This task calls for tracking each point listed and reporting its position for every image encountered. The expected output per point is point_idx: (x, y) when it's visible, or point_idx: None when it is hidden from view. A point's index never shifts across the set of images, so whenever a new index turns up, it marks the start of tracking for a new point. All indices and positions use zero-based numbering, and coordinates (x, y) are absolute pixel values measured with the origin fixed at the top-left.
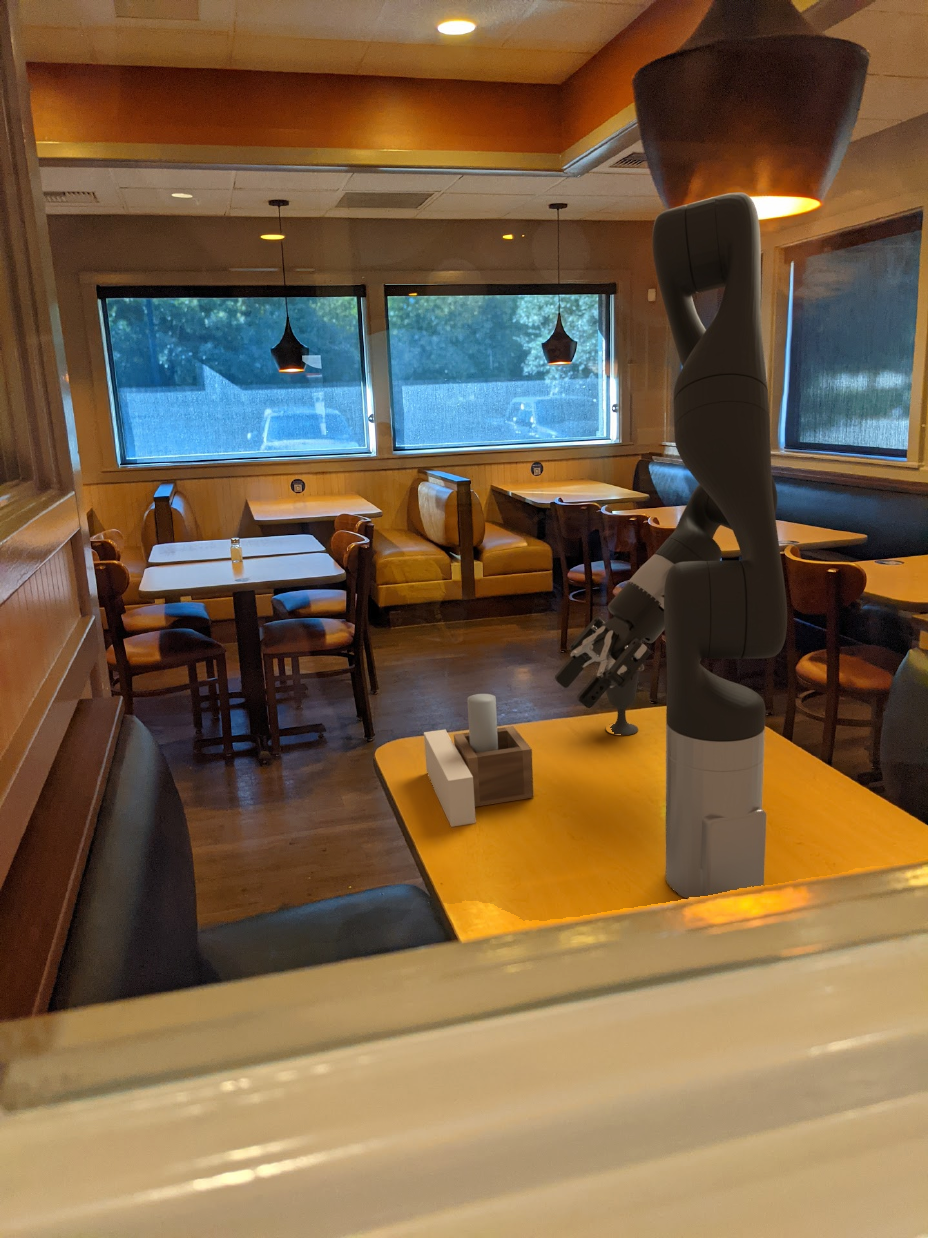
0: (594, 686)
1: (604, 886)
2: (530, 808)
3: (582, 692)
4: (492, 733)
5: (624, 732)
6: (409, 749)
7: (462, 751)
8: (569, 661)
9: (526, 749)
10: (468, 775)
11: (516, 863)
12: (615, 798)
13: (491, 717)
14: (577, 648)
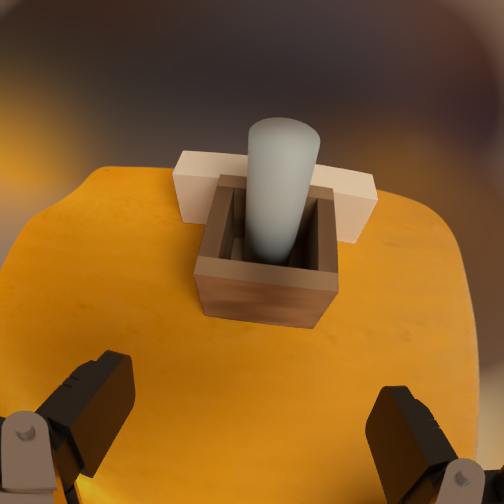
0: (60, 397)
1: (10, 280)
2: (178, 297)
3: (102, 364)
4: (248, 199)
5: None
6: (426, 226)
7: None
8: (427, 448)
9: (196, 263)
10: (180, 170)
11: (84, 229)
12: (137, 428)
13: (250, 172)
14: (476, 498)
